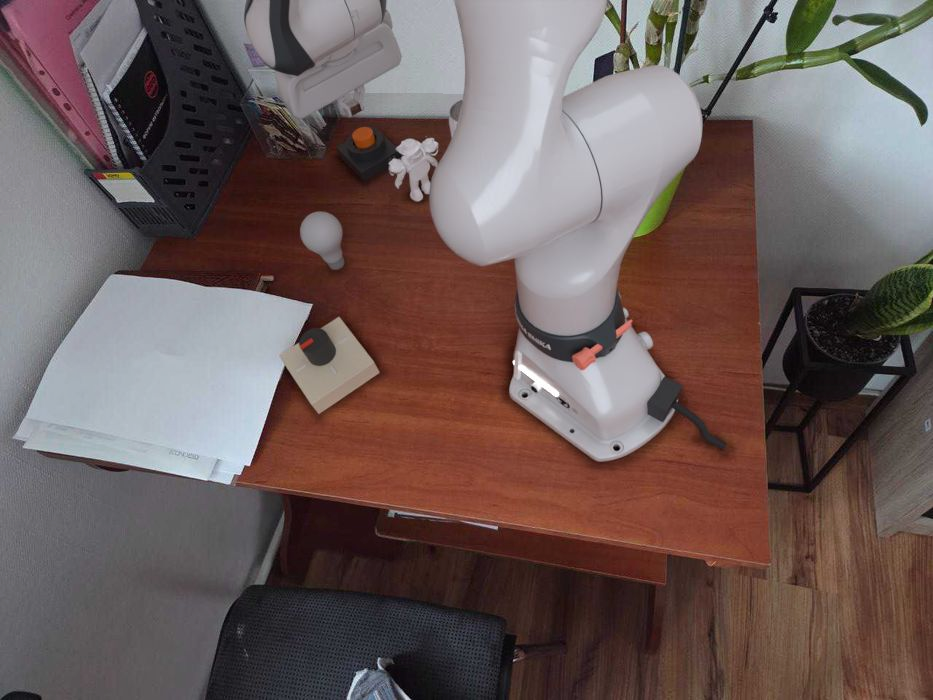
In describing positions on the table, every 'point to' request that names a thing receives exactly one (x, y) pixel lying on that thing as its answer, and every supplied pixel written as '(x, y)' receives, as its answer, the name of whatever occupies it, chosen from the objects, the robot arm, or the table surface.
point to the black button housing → (369, 155)
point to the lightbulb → (323, 237)
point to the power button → (363, 137)
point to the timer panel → (331, 368)
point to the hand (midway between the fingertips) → (355, 112)
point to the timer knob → (317, 346)
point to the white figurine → (415, 165)
